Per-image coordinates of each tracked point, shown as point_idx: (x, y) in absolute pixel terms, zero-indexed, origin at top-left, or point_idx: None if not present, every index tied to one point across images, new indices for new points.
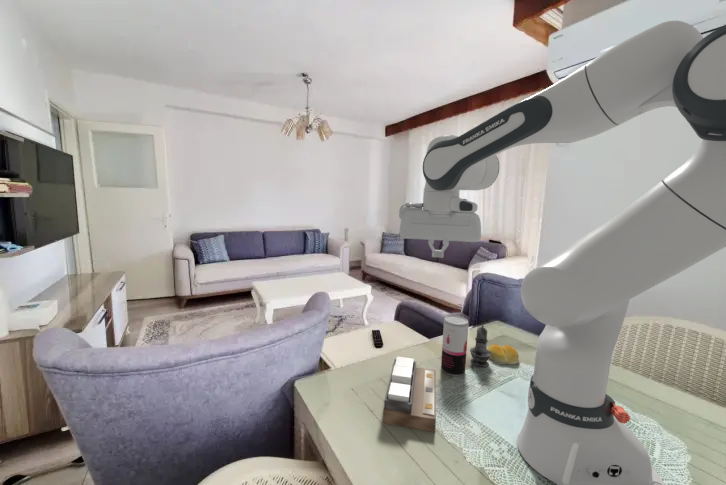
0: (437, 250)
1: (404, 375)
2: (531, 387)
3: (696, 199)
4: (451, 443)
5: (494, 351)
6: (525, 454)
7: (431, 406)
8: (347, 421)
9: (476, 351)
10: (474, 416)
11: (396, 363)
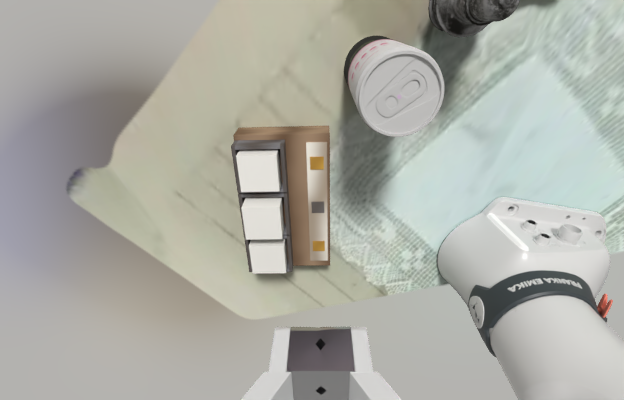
0: (316, 394)
1: (269, 236)
2: (484, 326)
3: None
4: (350, 263)
5: None
6: (441, 271)
7: (323, 246)
8: (206, 260)
9: (453, 19)
10: (392, 209)
11: (242, 185)
